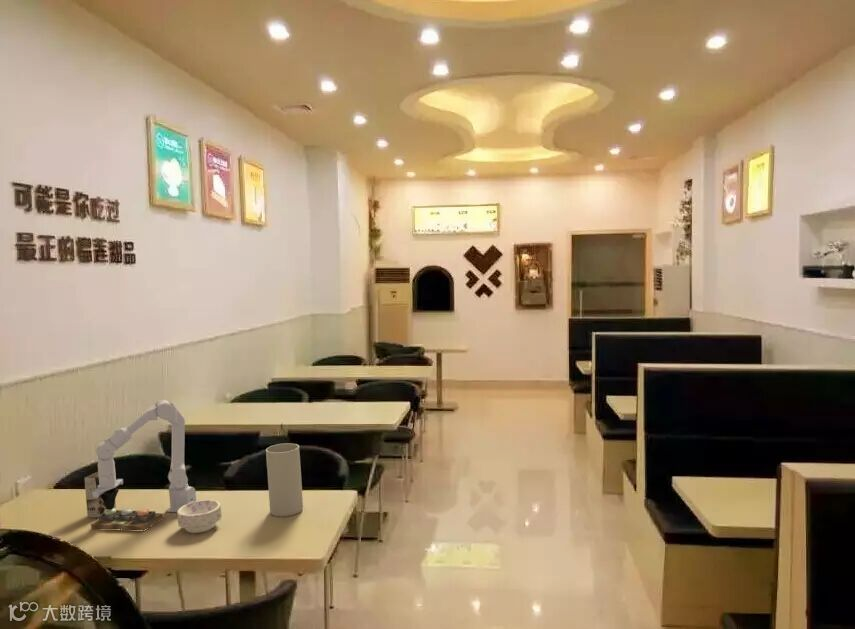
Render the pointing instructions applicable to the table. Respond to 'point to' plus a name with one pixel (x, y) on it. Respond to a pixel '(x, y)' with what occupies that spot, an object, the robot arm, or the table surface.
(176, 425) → the robot arm
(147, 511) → the terracotta button
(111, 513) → the sage button
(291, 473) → the cylinder vase
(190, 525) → the paper bowls
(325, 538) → the table surface
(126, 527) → the console
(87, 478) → the coffee box
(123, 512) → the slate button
